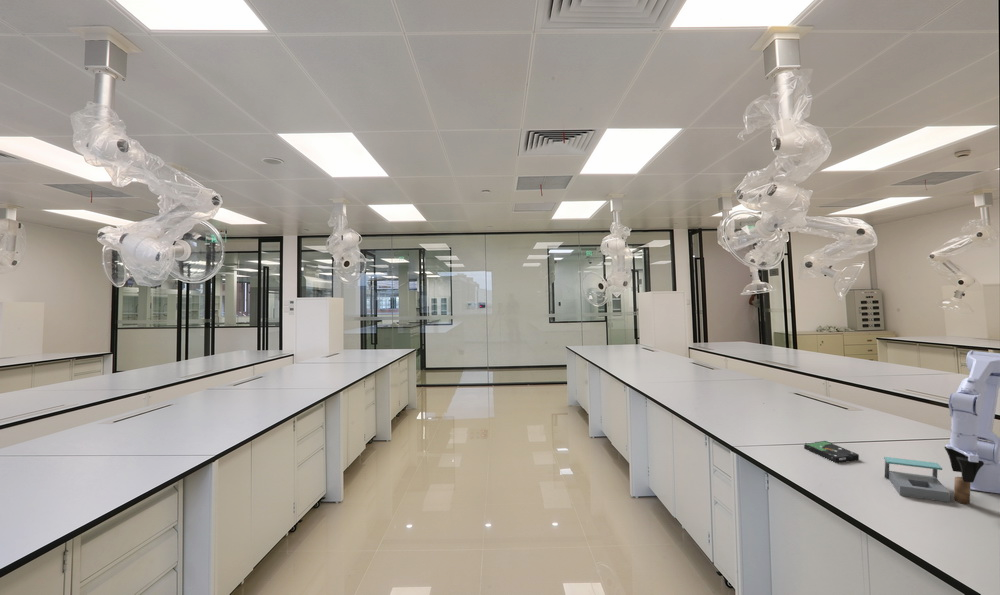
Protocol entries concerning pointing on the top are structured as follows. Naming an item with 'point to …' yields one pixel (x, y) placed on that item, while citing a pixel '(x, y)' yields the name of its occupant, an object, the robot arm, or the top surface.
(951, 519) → the top surface
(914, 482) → the socket block
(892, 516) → the top surface
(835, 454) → the disk drive
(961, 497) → the peg
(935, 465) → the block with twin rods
